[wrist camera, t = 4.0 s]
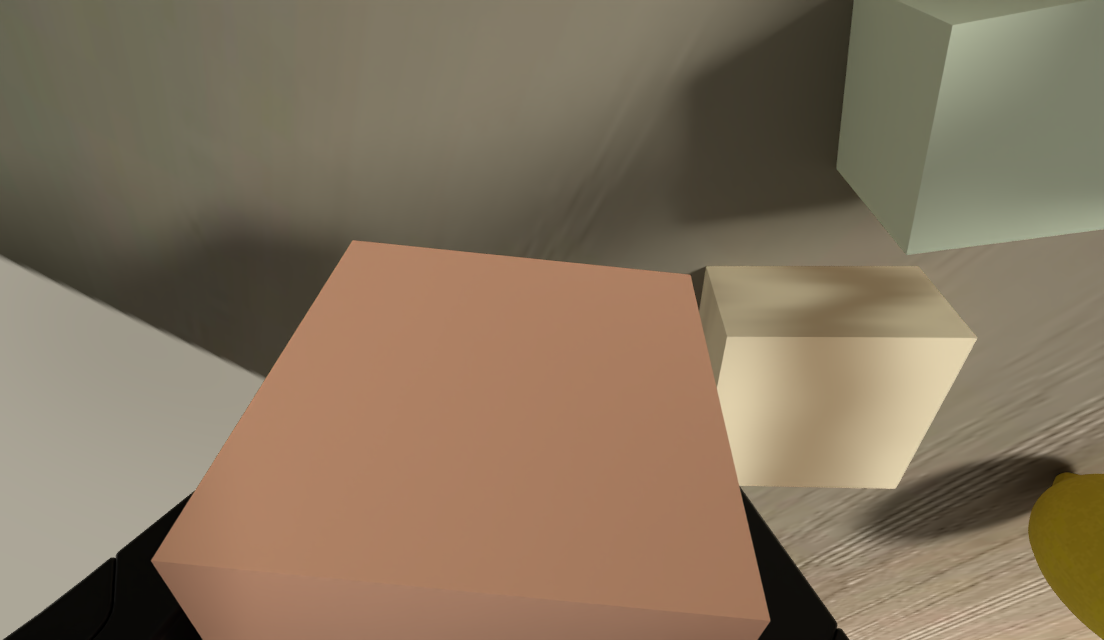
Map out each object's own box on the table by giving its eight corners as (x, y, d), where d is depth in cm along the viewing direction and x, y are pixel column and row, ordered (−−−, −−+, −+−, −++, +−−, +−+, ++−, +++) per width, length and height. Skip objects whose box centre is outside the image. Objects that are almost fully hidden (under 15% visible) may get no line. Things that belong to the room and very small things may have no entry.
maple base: (914, 262, 20) (977, 337, 17) (855, 406, 24) (895, 488, 21) (705, 262, 20) (727, 336, 17) (683, 404, 24) (697, 484, 21)
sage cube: (1077, -63, 14) (1271, -34, 10) (1018, 139, 17) (1148, 223, 13) (854, -19, 15) (952, 25, 11) (835, 167, 18) (906, 254, 14)
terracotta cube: (690, 274, 9) (770, 621, 5) (632, 480, 12) (652, 791, 8) (352, 240, 9) (149, 561, 5) (384, 455, 12) (279, 756, 8)
